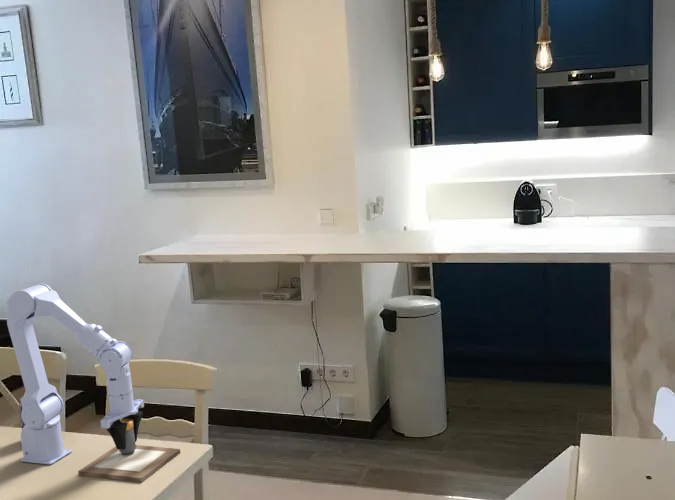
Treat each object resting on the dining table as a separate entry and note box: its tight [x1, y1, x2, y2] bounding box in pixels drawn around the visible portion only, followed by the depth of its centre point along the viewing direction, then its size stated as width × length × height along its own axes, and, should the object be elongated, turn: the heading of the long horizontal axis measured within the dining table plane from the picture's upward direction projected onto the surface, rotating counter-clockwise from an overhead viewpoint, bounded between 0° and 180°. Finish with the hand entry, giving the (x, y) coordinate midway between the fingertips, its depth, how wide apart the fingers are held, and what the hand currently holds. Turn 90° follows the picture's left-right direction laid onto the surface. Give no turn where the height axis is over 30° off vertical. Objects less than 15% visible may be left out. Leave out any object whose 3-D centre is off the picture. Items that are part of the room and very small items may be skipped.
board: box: [77, 444, 181, 483], centre depth 175 cm, size 18×16×1 cm
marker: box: [119, 419, 137, 455], centre depth 178 cm, size 4×4×8 cm
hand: (126, 445), depth 179 cm, fingers closed on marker, 4 cm apart
